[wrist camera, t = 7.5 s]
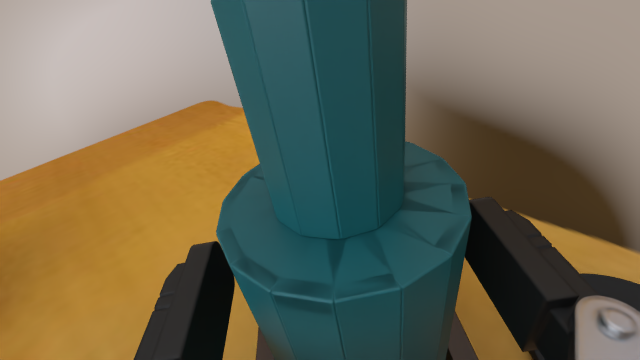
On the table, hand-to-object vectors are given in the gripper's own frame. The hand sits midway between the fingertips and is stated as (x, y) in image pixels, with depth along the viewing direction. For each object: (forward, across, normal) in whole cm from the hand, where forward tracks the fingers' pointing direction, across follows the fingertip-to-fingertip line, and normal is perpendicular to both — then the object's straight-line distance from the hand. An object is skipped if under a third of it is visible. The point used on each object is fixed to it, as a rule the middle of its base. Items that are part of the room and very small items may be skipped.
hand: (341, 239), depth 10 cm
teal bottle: (-1, 0, +10) cm, 10 cm away
